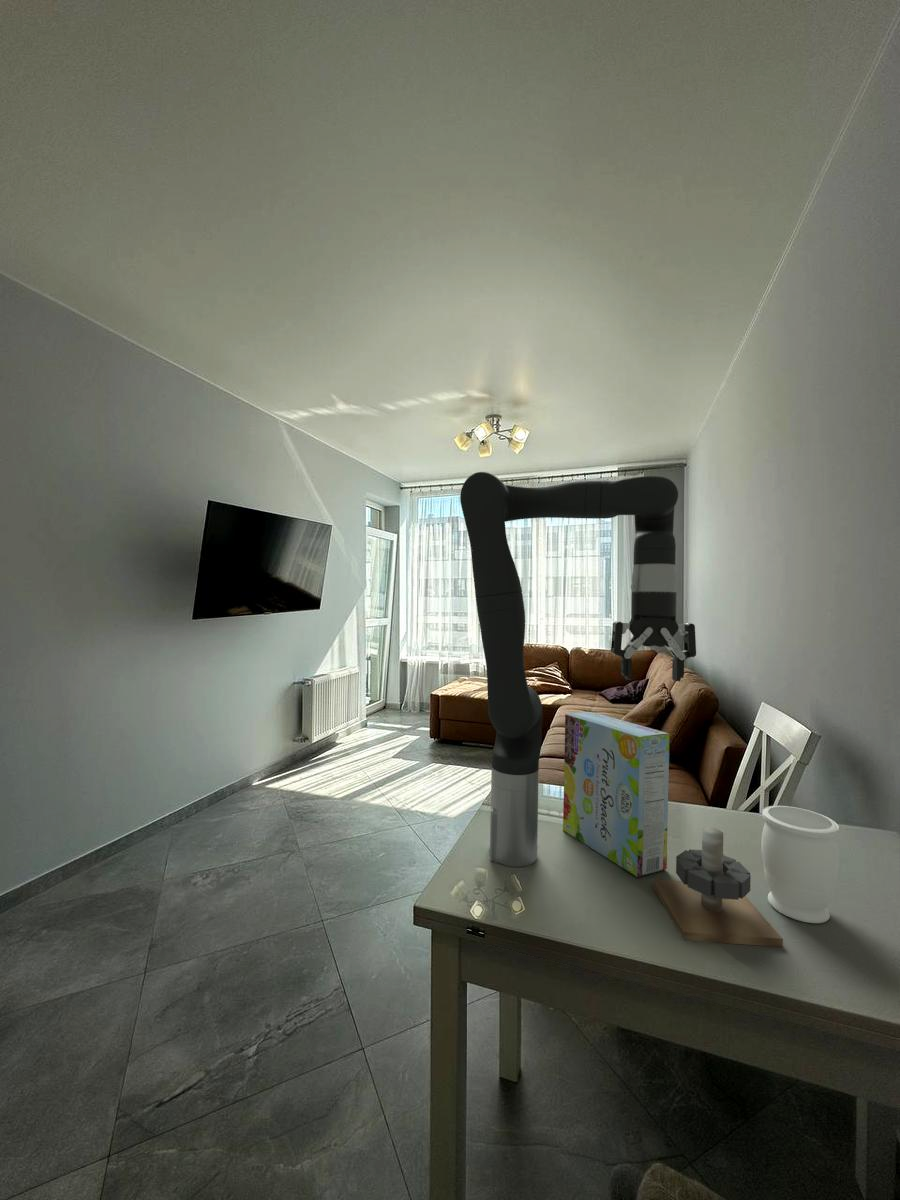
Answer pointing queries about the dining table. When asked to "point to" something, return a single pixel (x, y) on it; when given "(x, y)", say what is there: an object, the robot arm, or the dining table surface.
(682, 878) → the ring
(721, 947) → the dining table surface
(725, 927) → the post base
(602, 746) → the snack box
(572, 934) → the dining table surface
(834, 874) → the jar
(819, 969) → the dining table surface
